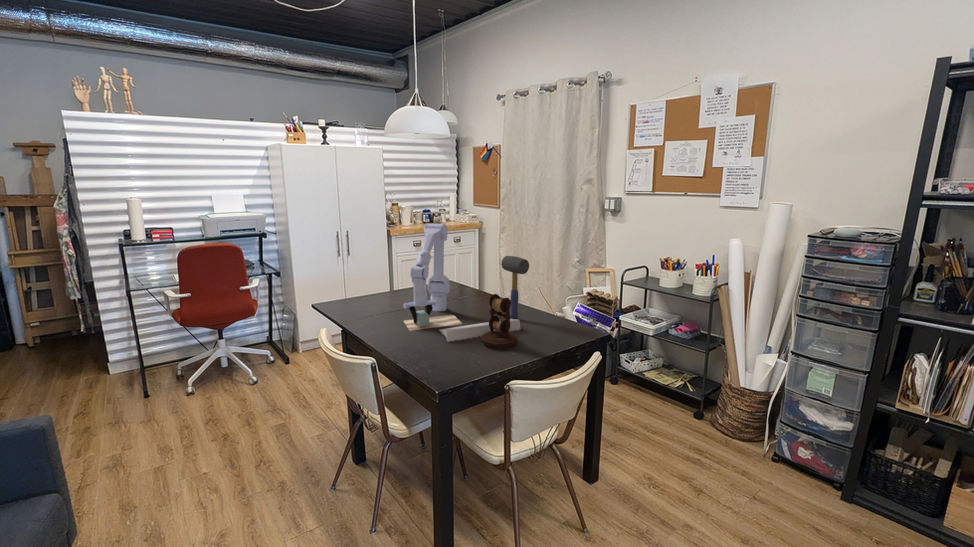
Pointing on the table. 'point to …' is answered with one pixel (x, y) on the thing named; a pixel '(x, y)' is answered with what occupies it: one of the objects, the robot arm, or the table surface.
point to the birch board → (434, 322)
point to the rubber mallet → (514, 278)
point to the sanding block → (422, 318)
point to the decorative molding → (473, 330)
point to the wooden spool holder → (499, 324)
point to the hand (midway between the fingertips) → (420, 322)
